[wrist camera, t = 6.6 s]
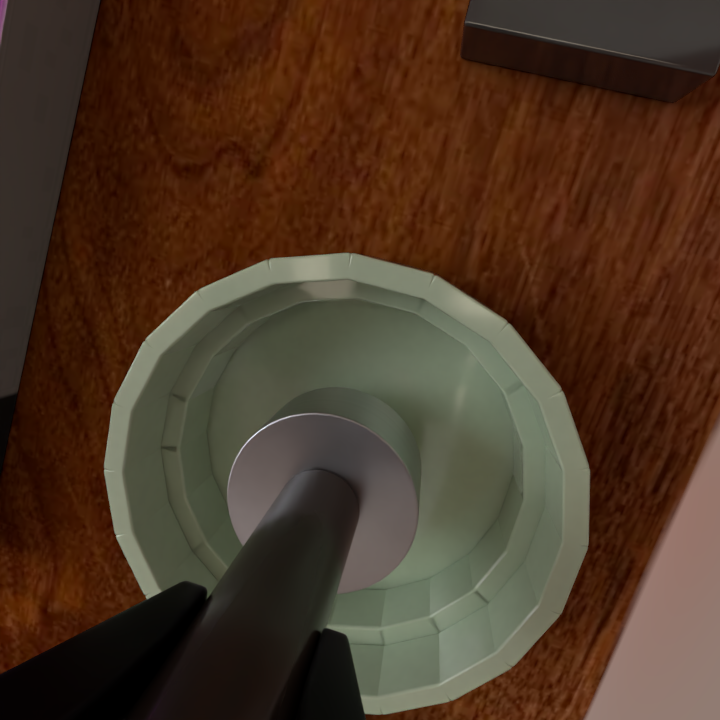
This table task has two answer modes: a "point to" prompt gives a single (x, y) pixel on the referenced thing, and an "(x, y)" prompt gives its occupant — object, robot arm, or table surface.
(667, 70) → the pole stand base
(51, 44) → the book
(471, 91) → the table surface
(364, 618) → the bowl
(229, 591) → the black post
